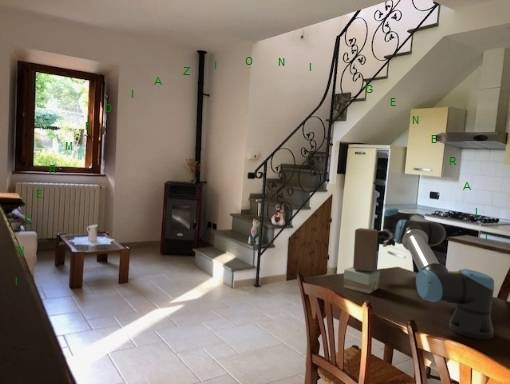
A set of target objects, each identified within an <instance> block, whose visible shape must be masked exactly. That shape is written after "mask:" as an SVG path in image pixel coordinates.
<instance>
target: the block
mask: <svg viewBox="0 0 510 384" xmlns="http://www.w3.org/2000/svg"><path fill="white" fill-rule="evenodd" d="M378 232H379V231H378V230H377V229H374V228H362V227H359V228H357V229H355V230H354V245H353V261H352V262H353V263H352V267H353V268H354V269H355V270H362V271H371V272H372V271H374V270H376V268H377V258H378V257H377V256H378V255H377V254H378V243H377V239H378Z"/></svg>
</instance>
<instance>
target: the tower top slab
mask: <svg viewBox="0 0 510 384" xmlns="http://www.w3.org/2000/svg"><path fill="white" fill-rule="evenodd" d="M380 274H381V271H380V270H376V269H375V270H374V271H372V272H371V271H362V270H355V269H354V268H353V266H351V267H348V268H345V269H344V270H343V280H344V279H347V280H351V281H355V282H358V283H362V284H366V285H370V284H372V283H374V282H376V281H379V282H380V276H381V275H380Z"/></svg>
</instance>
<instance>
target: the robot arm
mask: <svg viewBox="0 0 510 384" xmlns="http://www.w3.org/2000/svg"><path fill="white" fill-rule="evenodd" d="M446 235H447V233H446V229H445V227H444V226H443V225H442V224H440V223H438V222H436V221H430V220H428V219H426V217H425V215H424V214H422V213H413V212H401V211H400V210H399V209H398V208H395V207H386V208H385V209H384V212H383V223H382V230H379V231H378V239H377V244H378V245H382V246H383V248H386V247H388V246H393V247H395V246H396V244H399V245H401V244H402V246H403V247H404V249H405V250H407V251H409V252H410V255H411V257H412V259H413V261H414V264H415V265H416V267H417V270H418V272H417V274H416V278H415V286H416V291H417V294H418V296H419V297H420V298H421V299H422V300H424V301H429V302H431V303H432V302H433V303H444V304H456V308H455V310H454V312H453V314H452V315H451V318H450V320H449V323H448V325H449V326H448V327H449V329H450V330H452V331H453V332H455V333H456V334H459V335H461V336H464V337H466V338H472V339H476V340H491V339H493V337H494V326H493V322H492V318H491V314H492V313H491V312H492V305H493V296H494V291H495V280H494V278H493V277H492V276H489V275H487V274H485V273H482V272H480V271H476V270H472V269H467V268H462V269H460V270H461V271H460V272H461V273H452V272H449V269H448V268H447V267H446V266H445V265H444V264H442V263H440V262H439V261H438V258H437V257H436V255H435V254H434V252H433V250H432V249H431V247H434V246H437V245H440V244H441V243H442V242H443V241H444V240H445V238H446Z"/></svg>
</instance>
